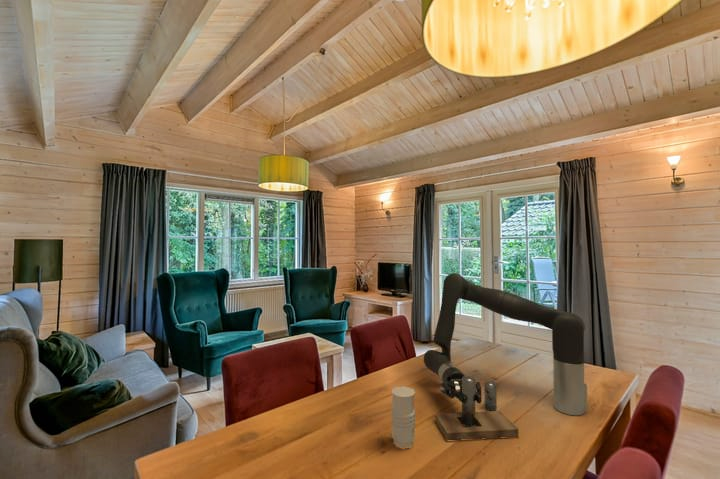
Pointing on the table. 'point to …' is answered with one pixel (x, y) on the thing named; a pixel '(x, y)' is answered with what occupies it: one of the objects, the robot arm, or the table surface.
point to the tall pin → (468, 401)
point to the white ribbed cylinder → (403, 416)
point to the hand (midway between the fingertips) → (472, 400)
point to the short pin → (490, 395)
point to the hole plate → (486, 422)
